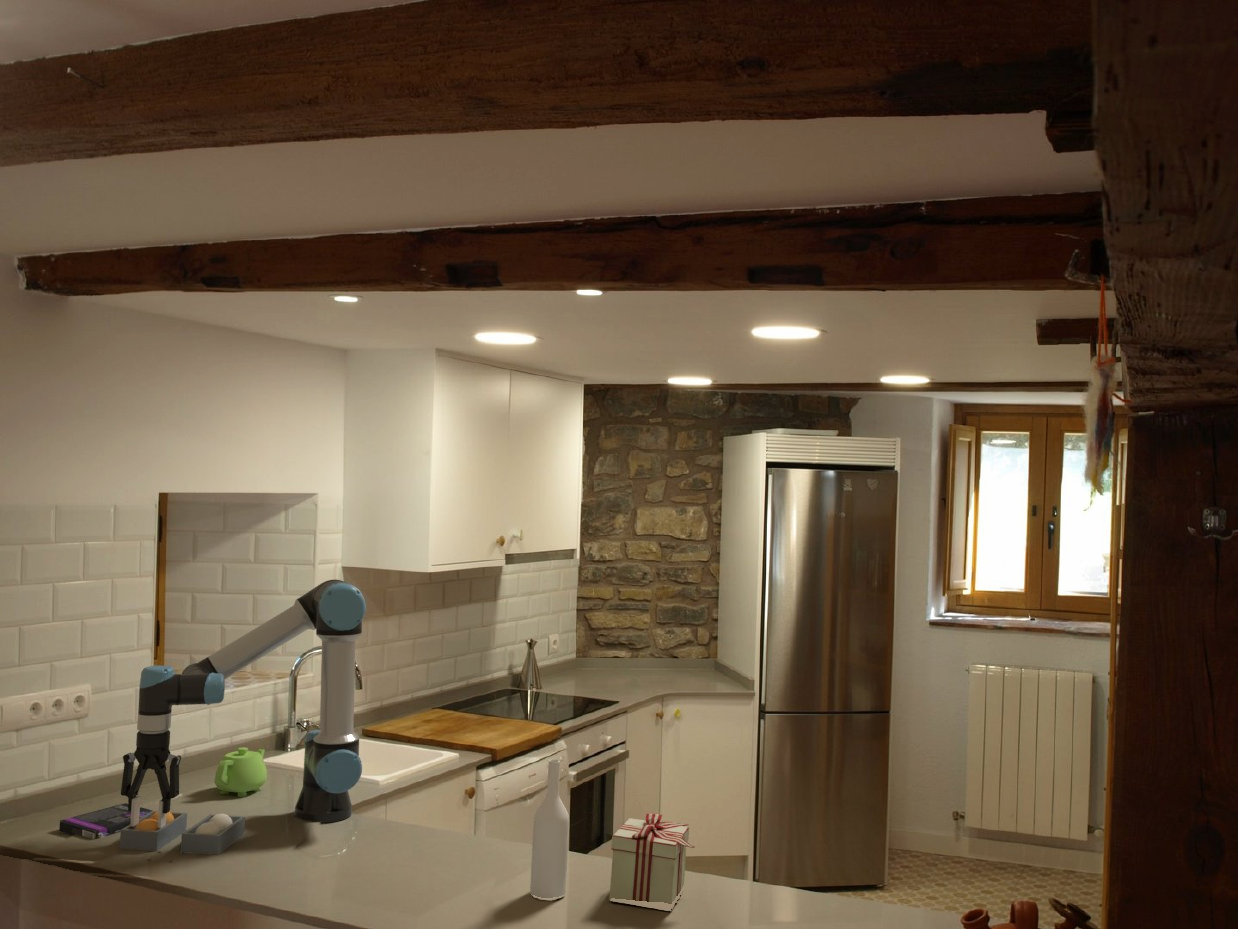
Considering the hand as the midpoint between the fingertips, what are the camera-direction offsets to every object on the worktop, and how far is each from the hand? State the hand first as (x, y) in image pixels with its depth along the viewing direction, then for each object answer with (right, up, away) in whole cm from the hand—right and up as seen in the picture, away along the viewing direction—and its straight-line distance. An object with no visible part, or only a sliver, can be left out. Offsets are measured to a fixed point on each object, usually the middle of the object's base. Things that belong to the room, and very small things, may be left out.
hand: (148, 825), depth 255 cm
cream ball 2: (+15, -5, +6) cm, 17 cm away
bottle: (+99, -9, -19) cm, 101 cm away
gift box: (+123, -11, -17) cm, 125 cm away
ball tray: (+7, -5, 0) cm, 8 cm away
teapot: (+5, -7, +49) cm, 50 cm away
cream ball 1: (+15, -5, -1) cm, 16 cm away
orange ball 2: (0, -5, +7) cm, 8 cm away
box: (-15, -6, +13) cm, 21 cm away
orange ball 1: (0, -4, 0) cm, 4 cm away
